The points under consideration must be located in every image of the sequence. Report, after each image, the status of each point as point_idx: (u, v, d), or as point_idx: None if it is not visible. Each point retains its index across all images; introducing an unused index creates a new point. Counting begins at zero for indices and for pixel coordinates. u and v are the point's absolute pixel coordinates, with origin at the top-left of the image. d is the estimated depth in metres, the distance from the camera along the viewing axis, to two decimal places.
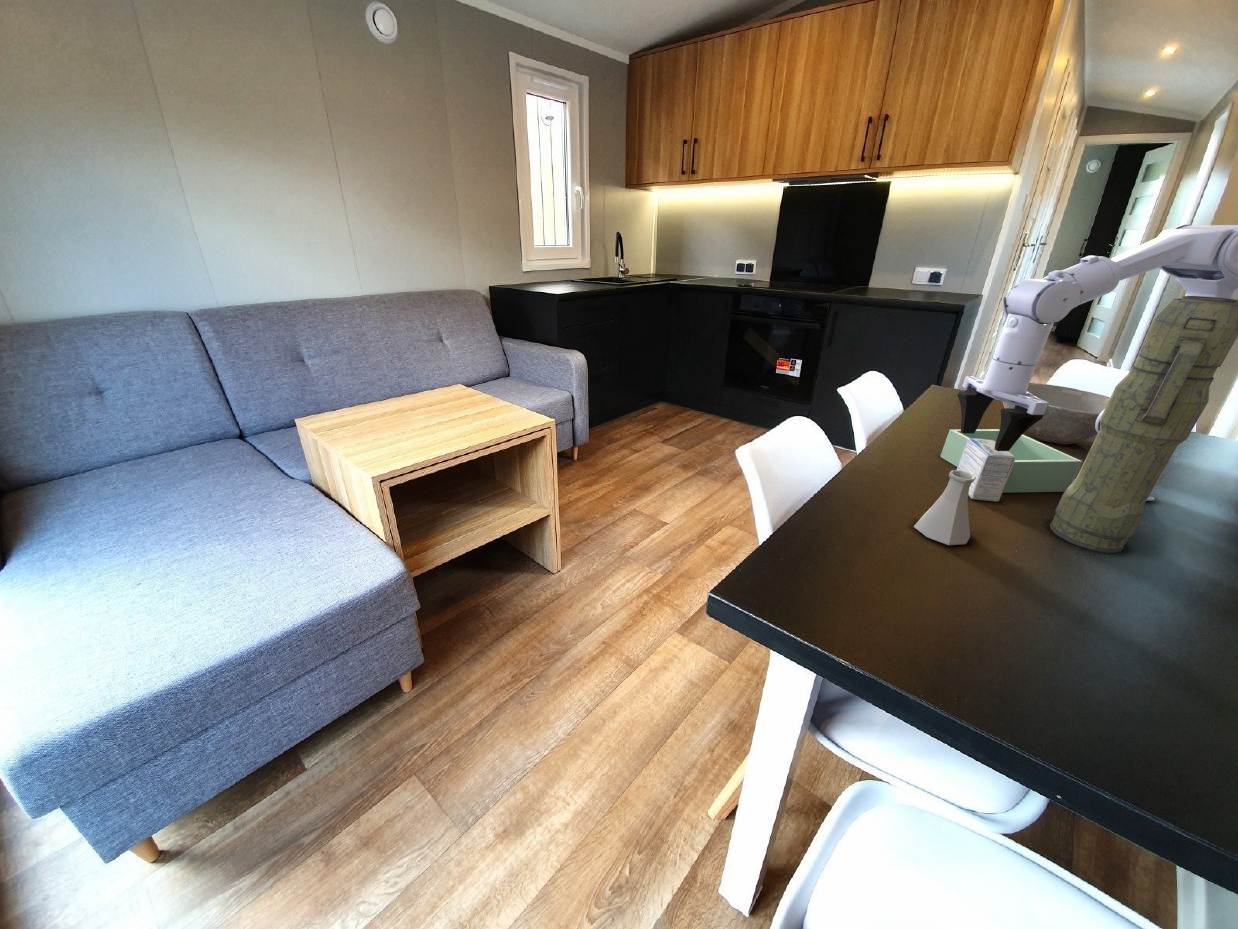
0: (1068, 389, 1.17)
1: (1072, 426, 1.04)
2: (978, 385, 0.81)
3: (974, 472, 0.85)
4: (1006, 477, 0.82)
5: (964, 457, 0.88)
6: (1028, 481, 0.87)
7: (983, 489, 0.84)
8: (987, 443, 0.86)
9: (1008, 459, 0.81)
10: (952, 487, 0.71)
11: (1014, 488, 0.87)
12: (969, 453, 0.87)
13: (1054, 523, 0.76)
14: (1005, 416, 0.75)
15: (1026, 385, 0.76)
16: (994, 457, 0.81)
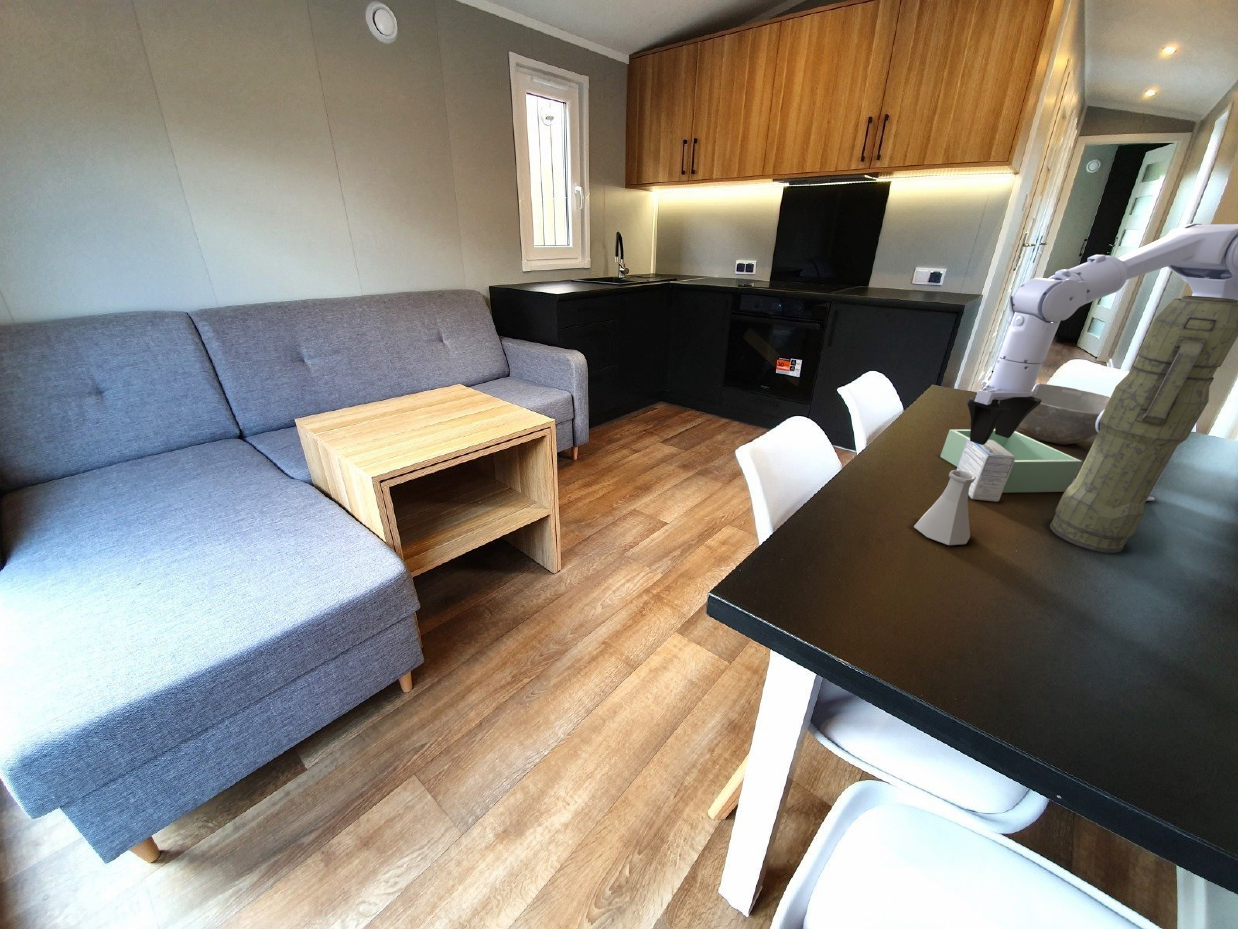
0: (1068, 389, 1.17)
1: (1072, 426, 1.04)
2: None
3: (974, 472, 0.85)
4: (1006, 477, 0.82)
5: (964, 457, 0.88)
6: (1028, 481, 0.87)
7: (983, 489, 0.84)
8: (987, 442, 0.86)
9: (1008, 459, 0.81)
10: (952, 487, 0.71)
11: (1014, 488, 0.87)
12: (969, 453, 0.87)
13: (1054, 523, 0.76)
14: None
15: (1011, 382, 0.77)
16: (994, 457, 0.81)
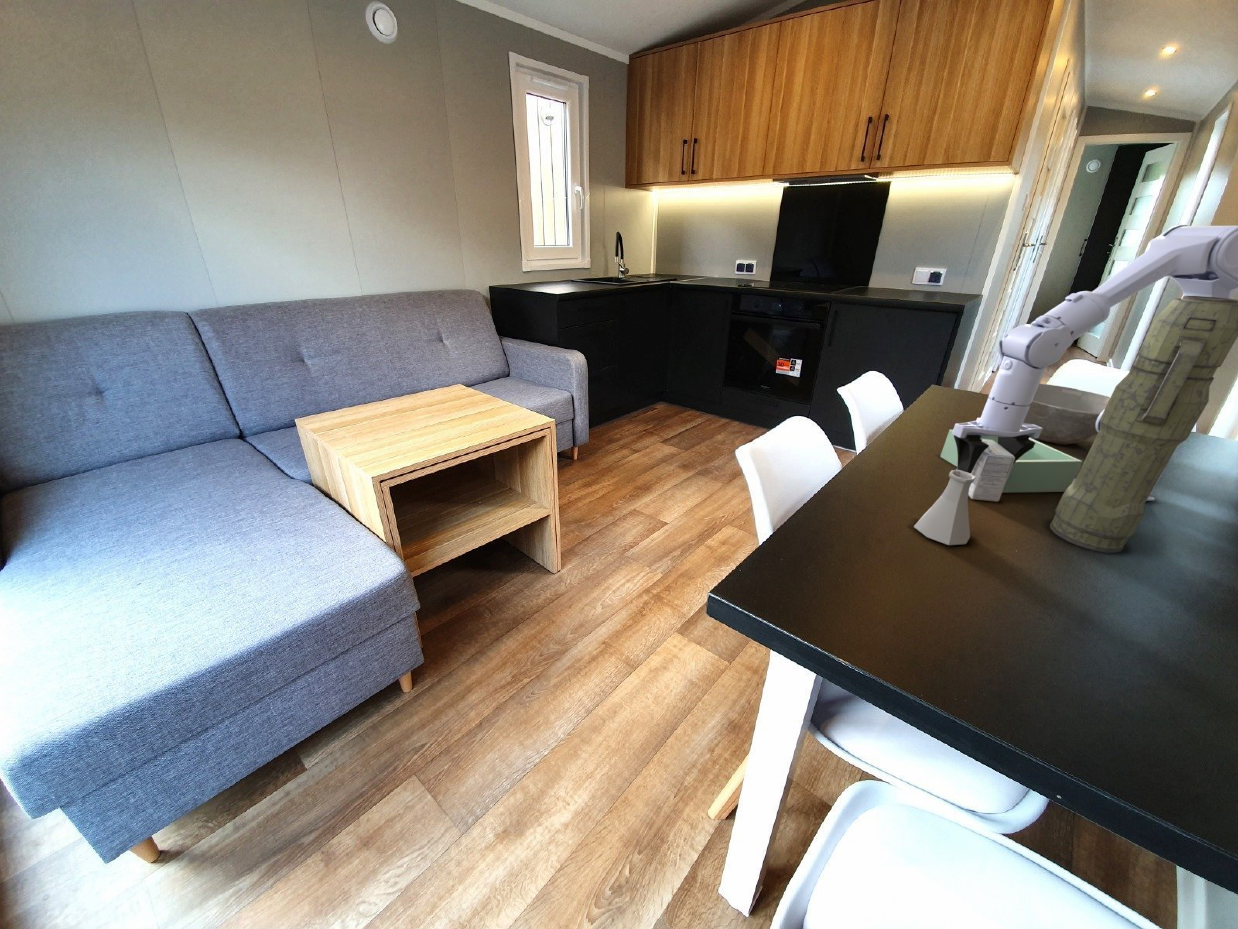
0: (1068, 389, 1.17)
1: (1072, 426, 1.04)
2: None
3: (974, 472, 0.85)
4: (1006, 477, 0.82)
5: None
6: (1028, 481, 0.87)
7: (982, 489, 0.84)
8: (986, 442, 0.86)
9: (1007, 459, 0.81)
10: (952, 487, 0.71)
11: (1014, 488, 0.87)
12: None
13: (1054, 523, 0.76)
14: None
15: (992, 420, 0.81)
16: (994, 457, 0.81)
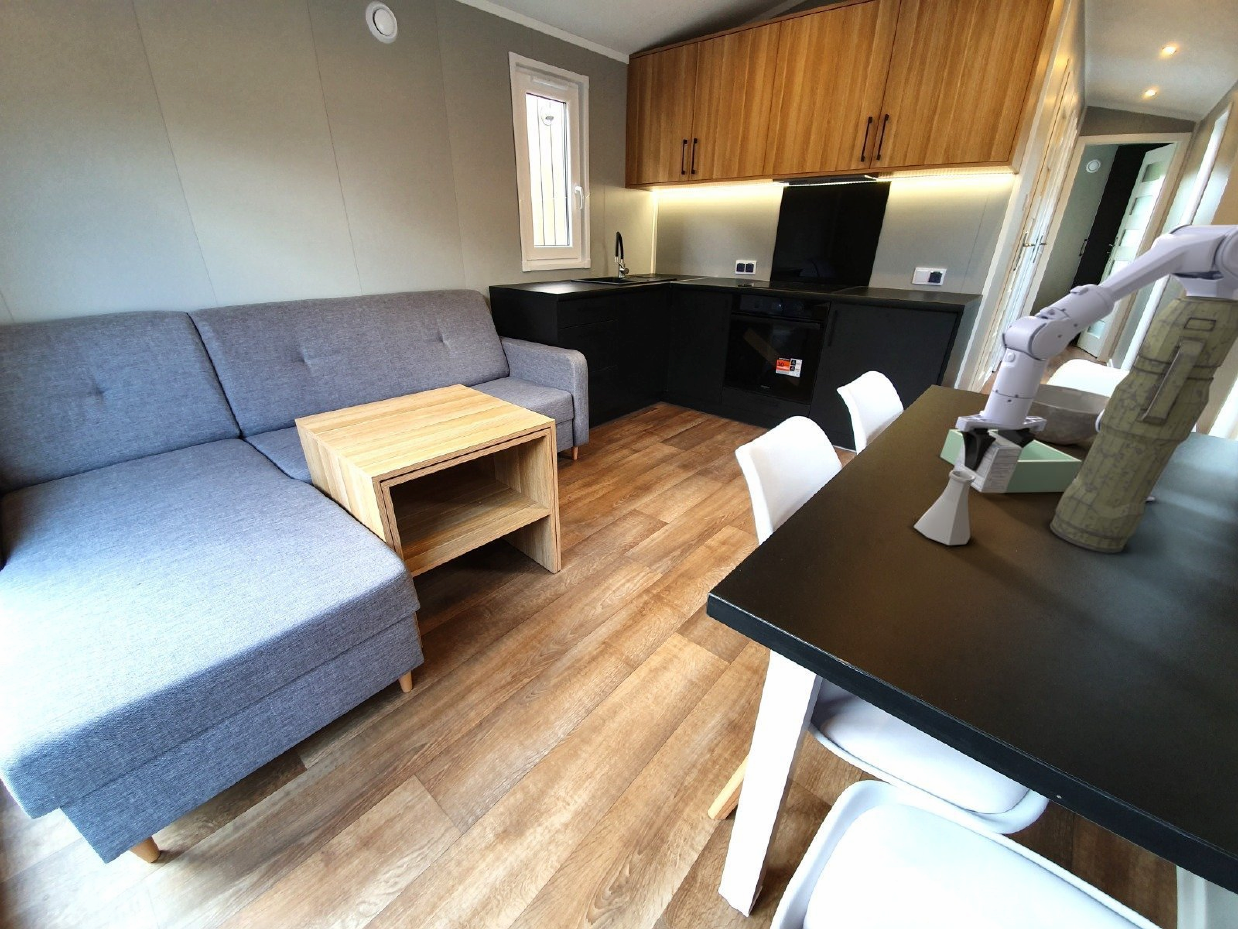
0: (1068, 389, 1.17)
1: (1072, 426, 1.04)
2: None
3: (981, 466, 0.84)
4: (1013, 468, 0.82)
5: None
6: (1028, 481, 0.87)
7: (991, 482, 0.83)
8: None
9: (1016, 451, 0.80)
10: (952, 487, 0.71)
11: (1014, 488, 0.87)
12: None
13: (1054, 523, 0.76)
14: None
15: (995, 413, 0.80)
16: (1004, 450, 0.80)
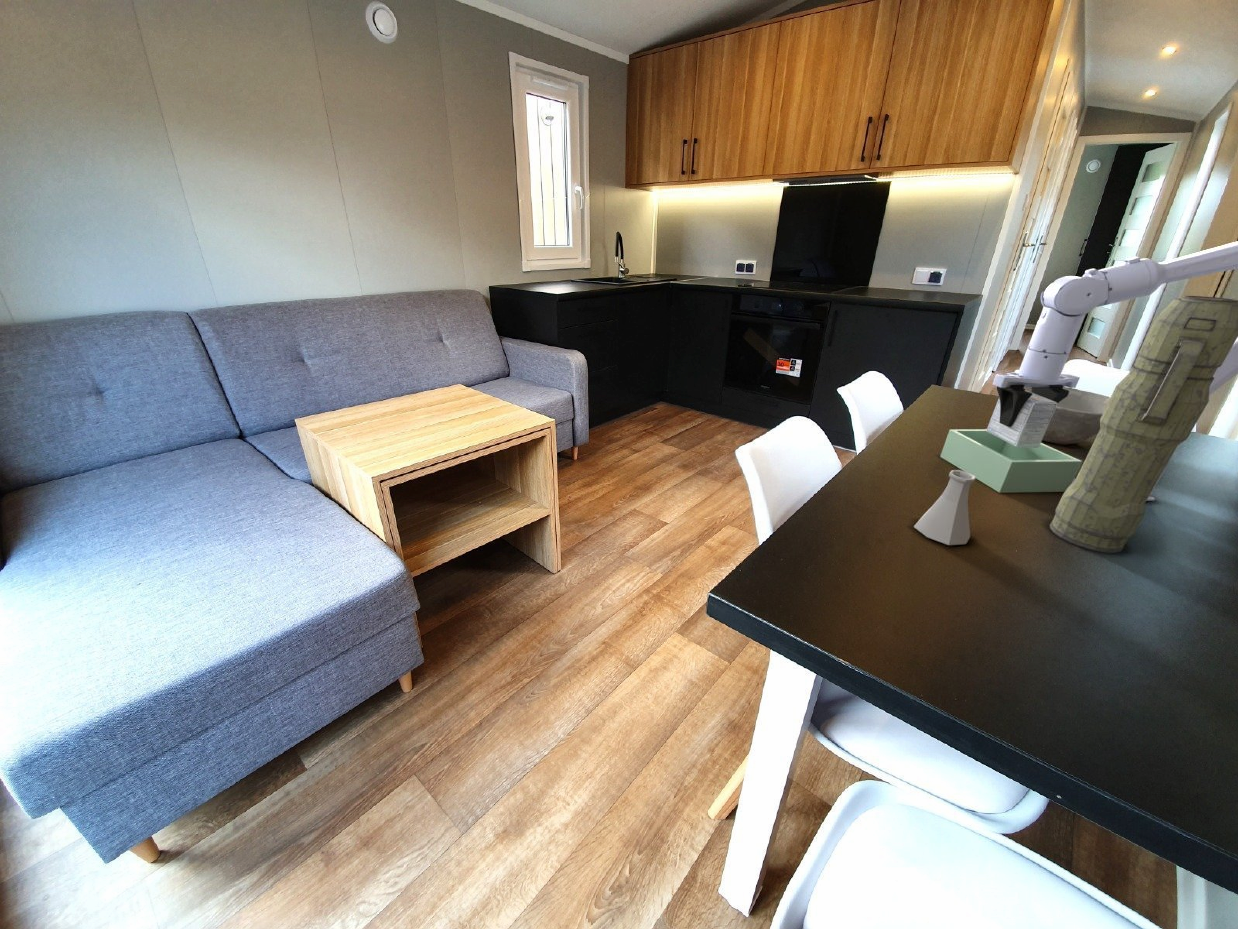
0: (1068, 389, 1.17)
1: (1072, 426, 1.04)
2: None
3: (1017, 421, 0.88)
4: (1047, 423, 0.86)
5: None
6: (1028, 481, 0.87)
7: (1026, 437, 0.87)
8: None
9: (1051, 405, 0.84)
10: (952, 487, 0.71)
11: (1014, 488, 0.87)
12: None
13: (1054, 523, 0.76)
14: None
15: (1031, 370, 0.84)
16: (1040, 404, 0.84)
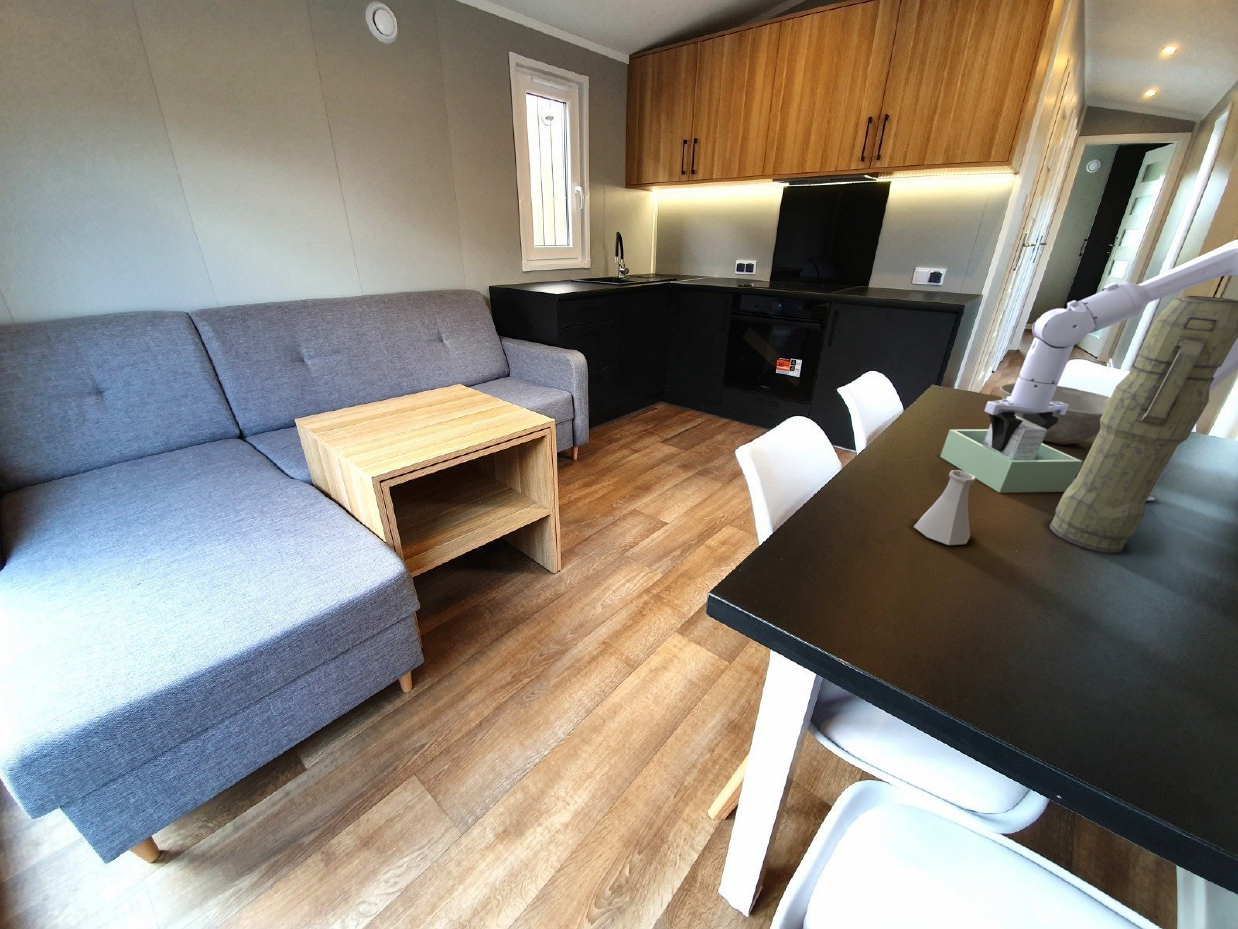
0: (1068, 389, 1.17)
1: (1072, 426, 1.04)
2: None
3: (1008, 446, 0.91)
4: (1037, 449, 0.89)
5: None
6: (1028, 481, 0.87)
7: None
8: None
9: (1041, 432, 0.88)
10: (952, 487, 0.71)
11: (1014, 488, 0.87)
12: None
13: (1054, 523, 0.76)
14: None
15: (1022, 398, 0.87)
16: (1030, 431, 0.87)
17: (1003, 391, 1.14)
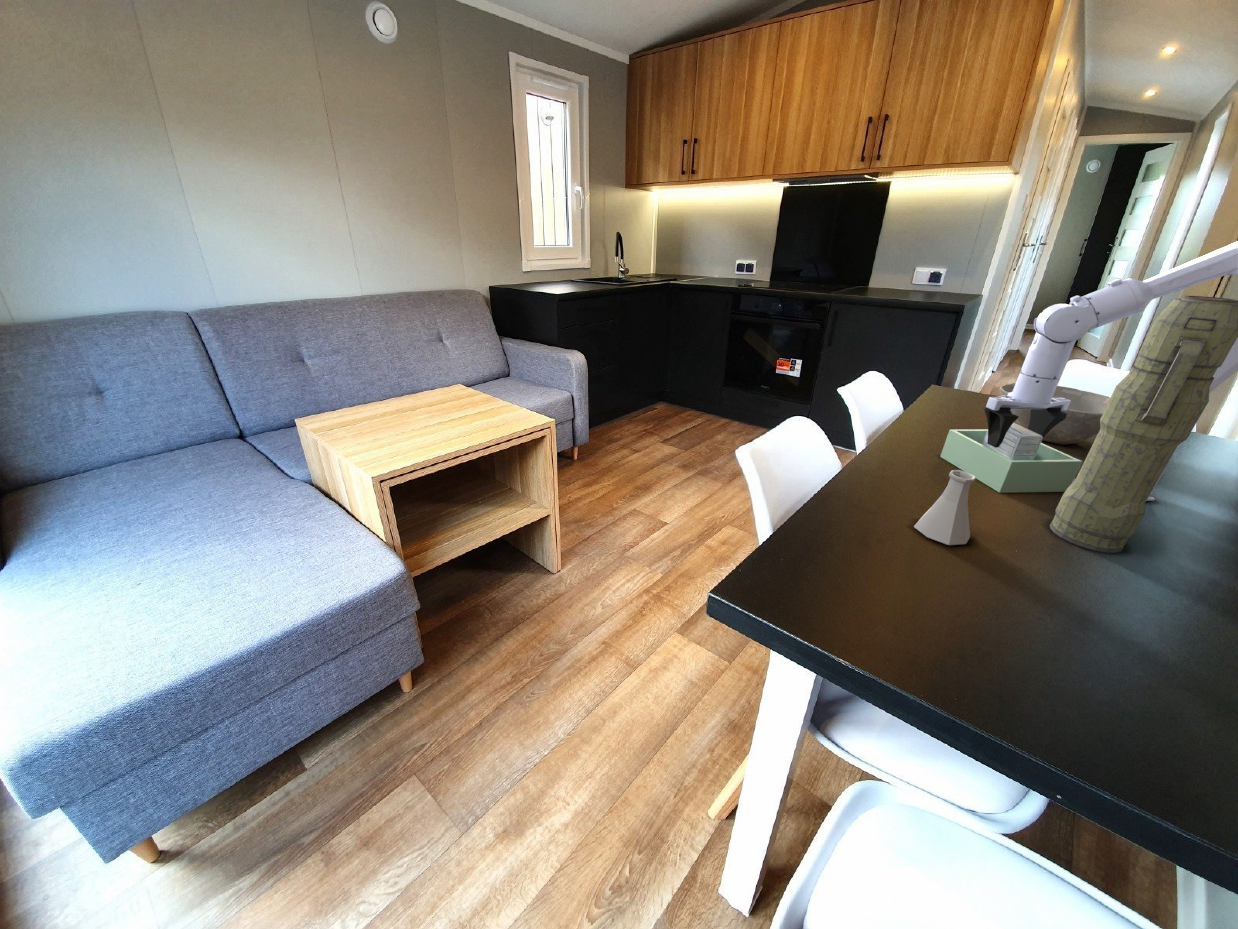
0: (1068, 389, 1.17)
1: (1072, 426, 1.04)
2: None
3: (1004, 453, 0.91)
4: (1034, 455, 0.90)
5: None
6: (1028, 481, 0.87)
7: None
8: None
9: (1037, 439, 0.88)
10: (952, 487, 0.71)
11: (1014, 488, 0.87)
12: None
13: (1054, 523, 0.76)
14: None
15: (1024, 393, 0.87)
16: (1026, 438, 0.88)
17: (1003, 391, 1.14)
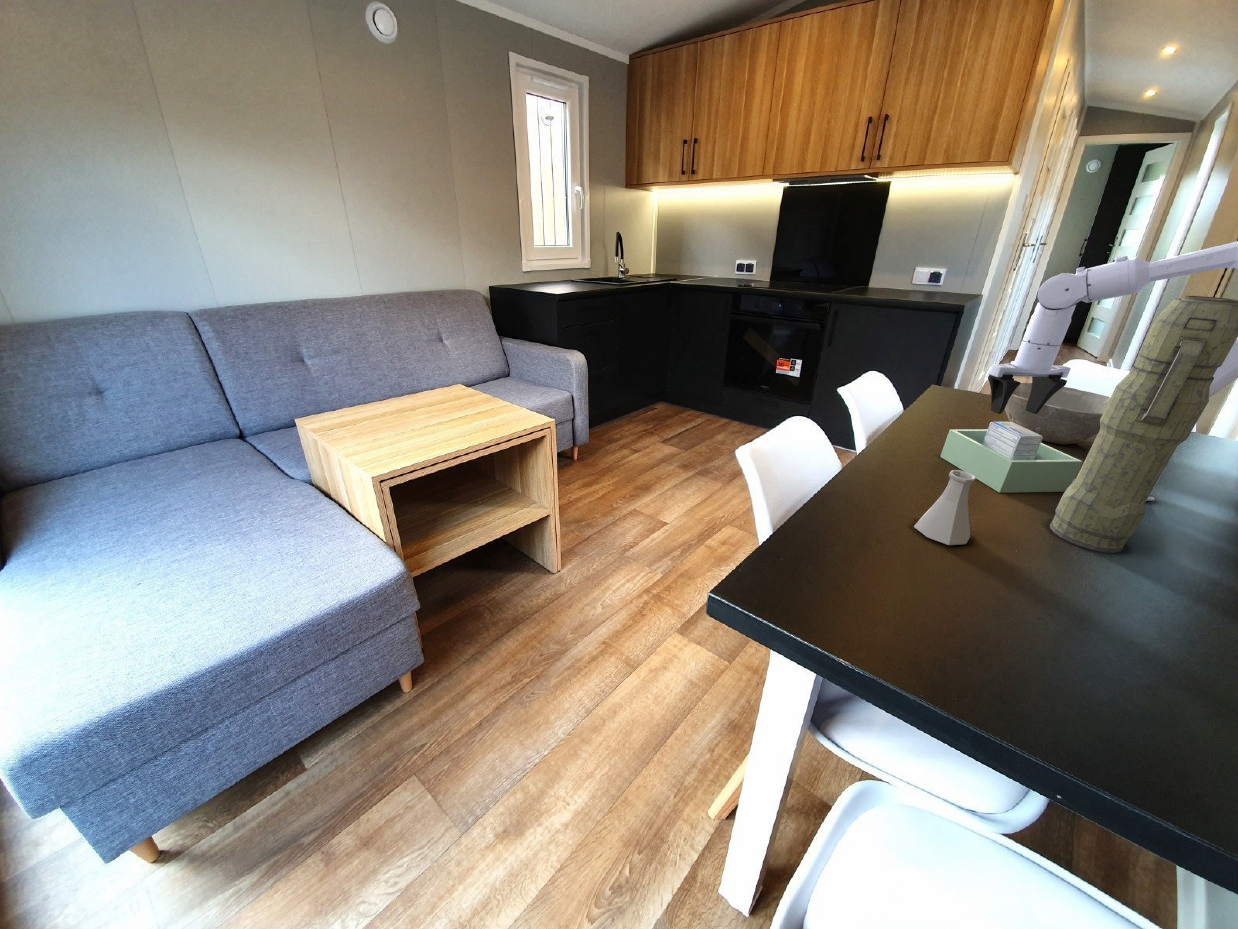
0: (1068, 389, 1.17)
1: (1072, 426, 1.04)
2: None
3: (1004, 453, 0.91)
4: (1034, 455, 0.90)
5: (988, 439, 0.95)
6: (1028, 481, 0.87)
7: None
8: (1010, 425, 0.93)
9: (1037, 439, 0.88)
10: (952, 487, 0.71)
11: (1014, 488, 0.87)
12: (995, 435, 0.94)
13: (1054, 523, 0.76)
14: None
15: (1026, 360, 0.91)
16: (1026, 438, 0.88)
17: None
